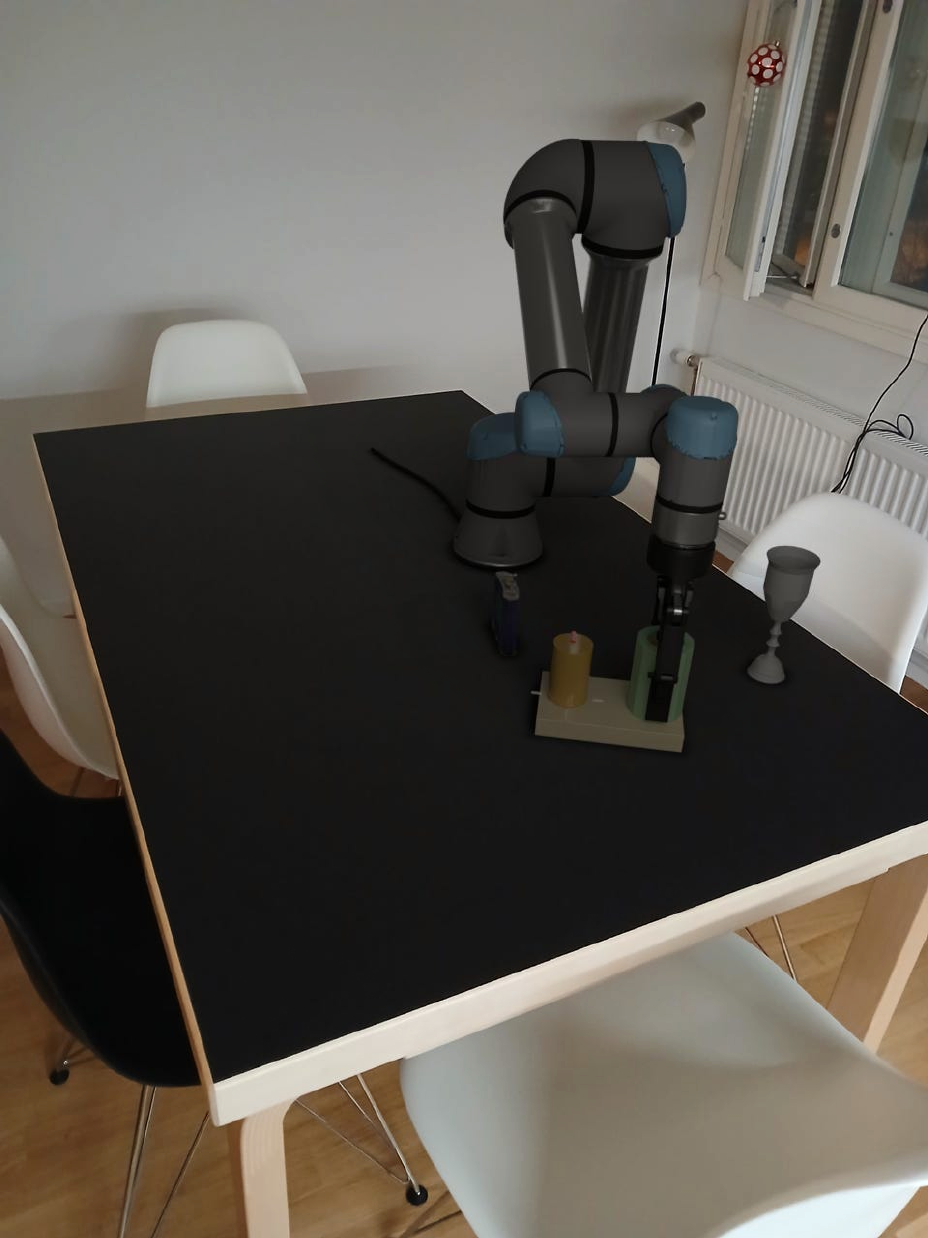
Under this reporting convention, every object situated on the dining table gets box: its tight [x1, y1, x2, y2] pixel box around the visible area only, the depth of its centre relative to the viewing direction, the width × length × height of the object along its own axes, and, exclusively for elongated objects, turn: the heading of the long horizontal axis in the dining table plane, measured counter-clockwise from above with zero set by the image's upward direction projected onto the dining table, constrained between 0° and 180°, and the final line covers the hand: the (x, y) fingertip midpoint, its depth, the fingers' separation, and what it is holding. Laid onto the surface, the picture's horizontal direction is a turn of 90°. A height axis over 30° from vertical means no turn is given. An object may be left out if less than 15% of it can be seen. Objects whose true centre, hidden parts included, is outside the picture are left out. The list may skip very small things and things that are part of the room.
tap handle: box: [548, 630, 594, 708], centre depth 121 cm, size 5×5×8 cm
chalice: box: [746, 545, 822, 684], centre depth 130 cm, size 7×7×18 cm
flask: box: [491, 571, 521, 657], centre depth 137 cm, size 9×3×11 cm, turn 8°
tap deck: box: [530, 670, 685, 753], centre depth 123 cm, size 19×11×3 cm, turn 81°
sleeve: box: [627, 625, 695, 723], centre depth 119 cm, size 7×7×10 cm
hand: (655, 702), depth 121 cm, fingers closed on sleeve, 7 cm apart
